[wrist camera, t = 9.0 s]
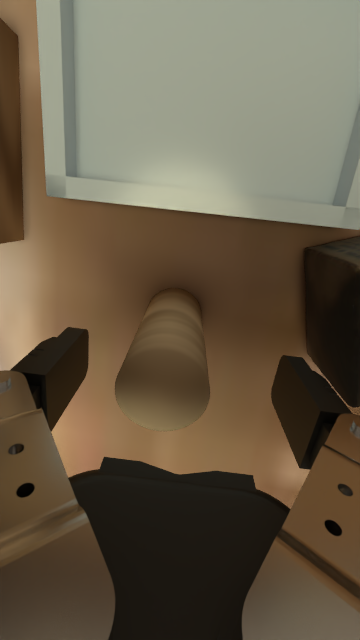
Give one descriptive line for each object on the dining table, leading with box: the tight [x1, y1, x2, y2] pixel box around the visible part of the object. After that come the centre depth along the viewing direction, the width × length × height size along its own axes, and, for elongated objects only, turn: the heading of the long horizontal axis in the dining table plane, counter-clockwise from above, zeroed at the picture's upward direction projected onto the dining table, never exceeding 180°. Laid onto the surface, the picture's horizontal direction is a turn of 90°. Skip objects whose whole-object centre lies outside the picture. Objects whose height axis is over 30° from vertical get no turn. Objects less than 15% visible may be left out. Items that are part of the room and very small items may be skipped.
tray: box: [36, 0, 360, 230], centre depth 14 cm, size 11×16×2 cm
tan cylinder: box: [115, 288, 210, 431], centre depth 15 cm, size 4×4×9 cm
